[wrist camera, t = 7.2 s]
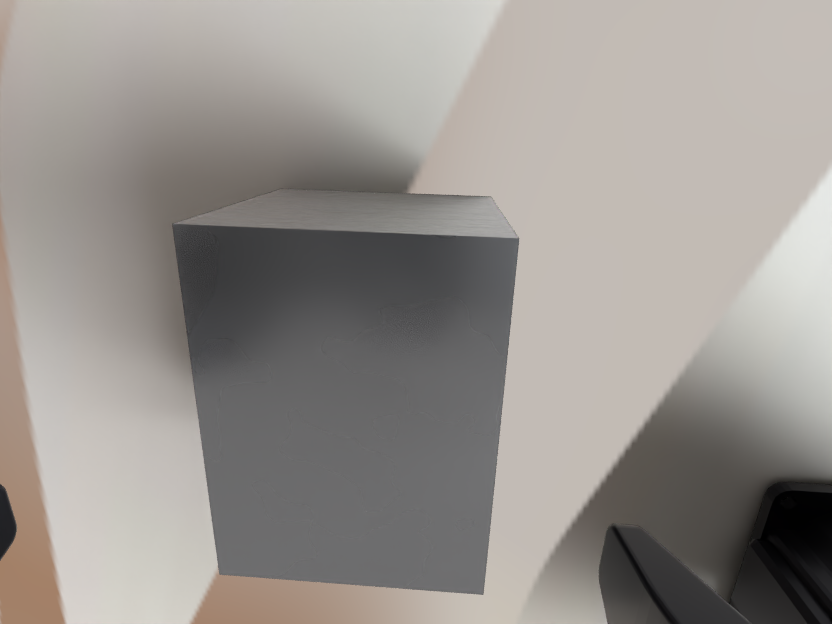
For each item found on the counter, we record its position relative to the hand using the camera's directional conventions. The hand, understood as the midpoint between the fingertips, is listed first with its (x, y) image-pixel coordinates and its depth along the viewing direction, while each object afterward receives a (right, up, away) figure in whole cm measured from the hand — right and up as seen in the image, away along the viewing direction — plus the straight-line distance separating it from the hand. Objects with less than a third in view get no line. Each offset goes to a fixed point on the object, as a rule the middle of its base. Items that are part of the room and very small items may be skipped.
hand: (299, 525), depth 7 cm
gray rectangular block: (+1, +3, +8) cm, 9 cm away
